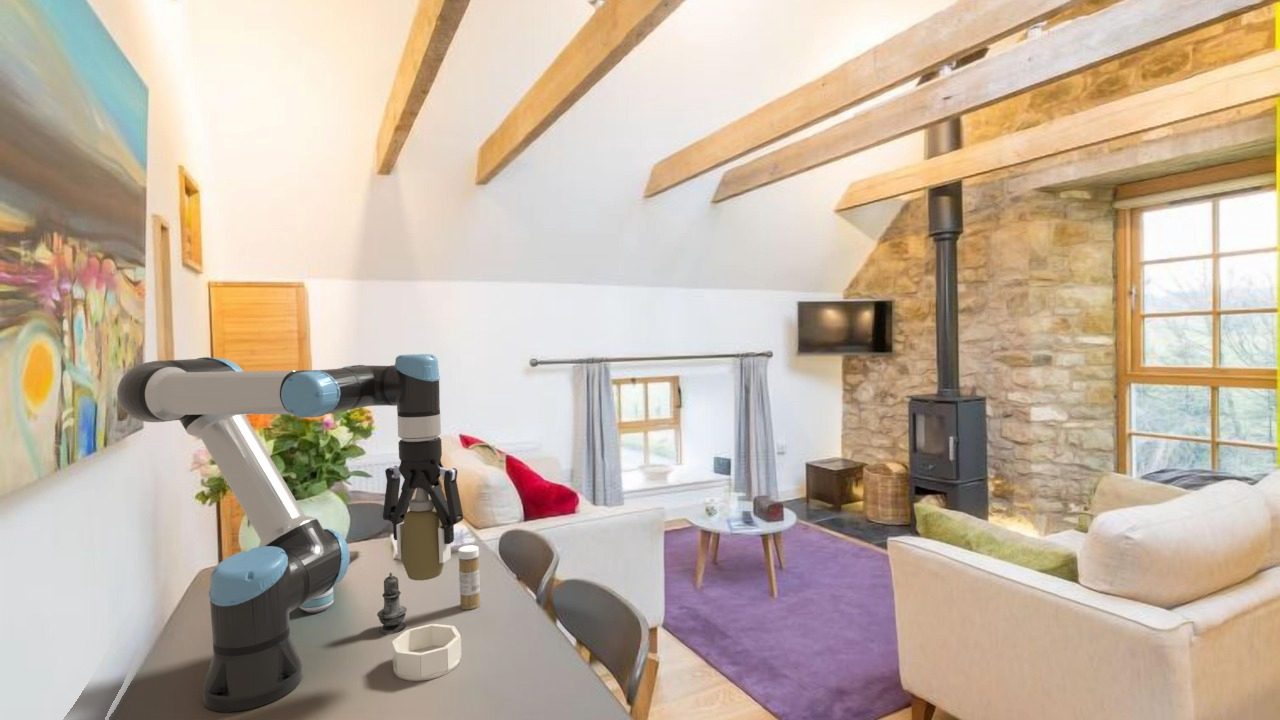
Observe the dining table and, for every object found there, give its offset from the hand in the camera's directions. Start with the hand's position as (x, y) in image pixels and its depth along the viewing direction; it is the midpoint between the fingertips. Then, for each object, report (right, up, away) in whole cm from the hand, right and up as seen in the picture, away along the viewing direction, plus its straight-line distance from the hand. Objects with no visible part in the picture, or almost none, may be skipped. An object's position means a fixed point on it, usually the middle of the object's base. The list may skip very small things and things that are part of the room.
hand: (424, 558), depth 121 cm
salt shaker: (-12, -20, +16) cm, 28 cm away
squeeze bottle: (0, -3, 0) cm, 3 cm away
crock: (0, -20, +1) cm, 20 cm away
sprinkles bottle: (+2, -19, +26) cm, 32 cm away
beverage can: (-33, -20, +27) cm, 47 cm away
